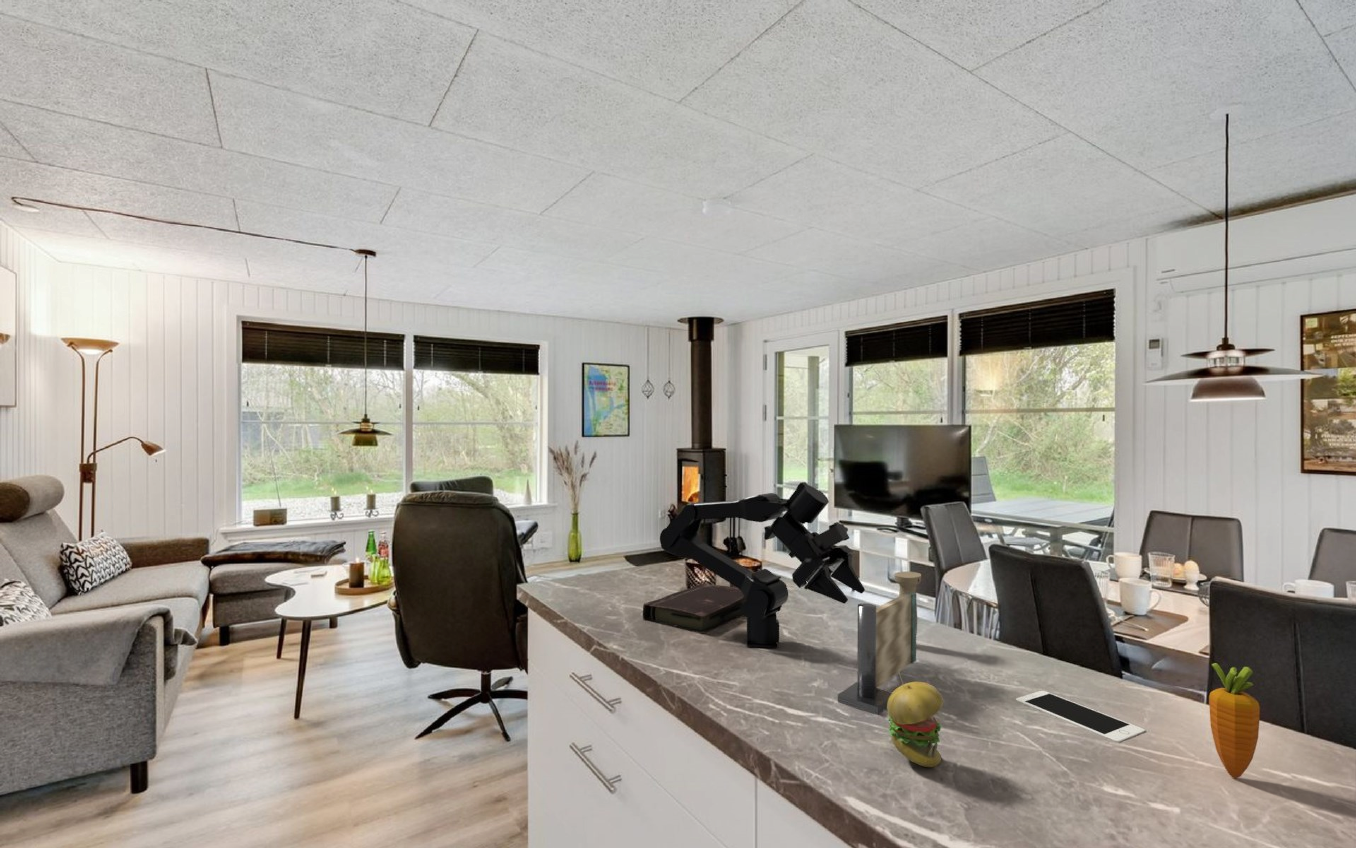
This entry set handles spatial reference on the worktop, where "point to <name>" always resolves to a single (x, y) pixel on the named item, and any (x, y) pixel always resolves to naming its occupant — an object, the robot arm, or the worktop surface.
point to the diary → (697, 607)
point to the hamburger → (915, 722)
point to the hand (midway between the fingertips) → (855, 596)
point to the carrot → (1234, 720)
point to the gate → (895, 636)
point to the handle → (908, 583)
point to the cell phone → (1081, 716)
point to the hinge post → (866, 667)
